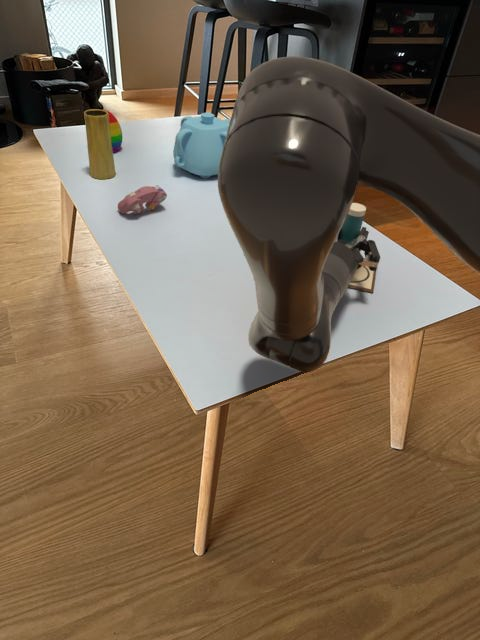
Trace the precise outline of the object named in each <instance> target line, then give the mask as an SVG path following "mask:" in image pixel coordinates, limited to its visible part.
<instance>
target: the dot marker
mask: <svg viewBox="0 0 480 640" xmlns="http://www.w3.org/2000/svg"><path fill="white" fill-rule="evenodd" d="M366 211H367V207H366V206H365V205H363V204H361V203H358V202H352V205H351V207H350V210H349V212H348V214H347V216H346V219H345V221H344V223H343V225H342V229H341V233H340V237H339V240H341V241H343V242H348V243H349V242H350V241H351V240H352V239H353V238H357V237H358V234H359V233H360V231H361V229H362V227H363V226H362V225H363V222H364V218H365V215H366V213H367V212H366Z"/></svg>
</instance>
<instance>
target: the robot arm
mask: <svg viewBox="0 0 480 640" xmlns="http://www.w3.org/2000/svg"><path fill="white" fill-rule="evenodd" d="M231 113H232V114H231V118H230V119H229V120H230V124H229V128H228V132H227V135H226V139H225V143H224V147H223V151H222V155H221V160H220V164H219V170H218V174H217V188H218V189H217V190H218V194H219V195H218V196H219V197H220V202H221V205H222V208H223V211H224V215H225V217H226V219H227V221H228V223H229V226H230V228H231V231H232V232H233V235H234V236H235V238H236V240H237V243H238V244H239V247H240V249H241V251H242V252H243V256H244V258H245V260H246V262H247V264H248V267H249V269H250V271H251V274H252V277H253V281H254V286H255V296H256V304H257V310H258V311H257V313H256V314H255V316H254V317H253V320H252V322H251V324H250V327H249V329H248V337H247V338H248V339H247V340H248V345H249V346H250V348H251V349H252V350H253V351H254V352H255V353H256V354H258V355H259V356H261V357H263V358H265V359H269V360H271V361H274V362H276V363H278V364H281V365H283V366H286V367H289V368H291V369H293V370H295V371H298V372H302V373H311V372H314V371H316V370H318V369H319V368H321V367H322V365H324V363H325V362H326V360H327V358H328V356H329V352H330V349H331V341H332V316H333V314H334V312H335V309H336V307H337V305H338V304H339V302H340V301H341V299H342V298H343V297H344V295H345V294H346V292H347V291H348V289H349V288H348V286H349V283H350V281H351V279H352V277H353V275H354V273H355V271H356V270H357V269H360V268H361V267H362V266H368V267H369V269H370V270H371V271H376V272H377V269H378V266H379V263H380V261H381V255H380V252H379V249H378V247H377V244H376V242H375V241H376V240H375V241H374V240H372V239H368V237H369V233H370V232H369V230H367V227H366V226H361V230H360V233H359V234H358V237H357V238H353V239H352V240H351V241H350V242H349V243H348V242H343V241H341V240H339V237H340V233H341V229H342V225H343V223H344V221H345V219H346V216H347V214H348V212H349V210H350V207H351V205H352V203H354V200H355V197H356V193H357V190H358V185H359V184H362V185H365V186H367V187H370V188H372V189H375V190H377V191H380V192H382V193H383V194H386V195H388V196H389V197H391V198H392V199H394V200H396V201H397V202H399V203H400V204H401V205H403V206H404V207H405V208H407V209H408V210H409V211H411V213H412V214H414V215H415V216H416V217H417V218H418V219H419V220H420V221H421V222H422V223H423V224H424V225H425V226H426V227H427V228H428V229H429V230H430V231H431V232H432V233H433V234H434V235H435V236H436V237H437V239H439V240H440V241H441V242H442V244H444V245H445V246H446V247H447V249H449V251H451V252H452V253H453V255H455V256H456V257H457V258H458V259H459V260H461V262H463V263H464V264H465V265H466V266H468V267H469V268H470V269H472V270H473V271H474V272H476V273H477V274H478V275H480V134H478V133H475V132H473V131H470V130H467V129H466V128H463V127H461V126H458V125H456V124H453V123H451V122H449V121H447V120H444V119H443V118H440V117H438V116H436V115H434V114H432V113H430V112H428V111H427V110H424V109H422V108H421V107H419V106H416V105H415V104H413V103H410V102H409V101H407V100H405V99H403V98H401V97H400V96H397V95H396V94H394V93H392V92H390V91H388V90H386V89H384V88H382V87H380V86H378V85H377V84H375V83H373V82H371V81H369V80H367V79H366V78H363V77H362V76H360V75H358V74H356V73H353V72H351V71H349V70H347V69H345V68H344V67H341V66H338V65H336V64H333V63H330V62H328V61H324V60H321V59H317V58H315V57H314V58H313V57H306V56H295V55H293V56H283V57H277V58H276V57H275V58H273V59H270V60H268V61H265V62H262V63H261V64H259V65H257V66H256V67H255V68H253V69H252V70H251V71H250V72H249V73H248V74H247V75H246V77H245V78H244V80H243V81H242V83H241V85H240V87H239V89H238V92H237V95H236V99H235V102H234V106H233V109H232V112H231ZM362 251H363V255H364V256H363V255H362V254H361V252H362Z"/></svg>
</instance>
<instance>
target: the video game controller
mask: <svg viewBox="0 0 480 640" xmlns="http://www.w3.org/2000/svg"><path fill="white" fill-rule="evenodd" d="M167 197H168V194H167V193H166V191H165V190H164V189H163V188H162V187H160V186H159V185H158V184H157V185H155V186H152V185H151V186H148V185H147V186H141V187H139V188H138V189H137V190H135V191H131V192H129V194H127V195H126V196H125V197H124V198H123V199H121V200H120V201H119V202H118V203H117V210H118V212H119V213H121V214H127V213H130V212H133V213H134V214H135V215H140V214H142V213H143V212H144V211H145V208H146V210H147V211H153V210H154V209H156V207H158V206H159V204H161V203H163V202H164V201H165V200H166V199H167ZM143 204H145V205H143Z"/></svg>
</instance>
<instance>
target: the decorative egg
mask: <svg viewBox="0 0 480 640" xmlns="http://www.w3.org/2000/svg"><path fill="white" fill-rule="evenodd" d="M104 110H105V111H107V112H108V115H109V126H110V136H111V144H112V151H113V153H116V152H118V151H119V150H120V148H121V147H122V143H123V131H122V127H121V125H120V122H119V120H118V119H117V117H116V116H115V115H114V114H113V113H112V112H110V111H109V110H106V109H104Z"/></svg>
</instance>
